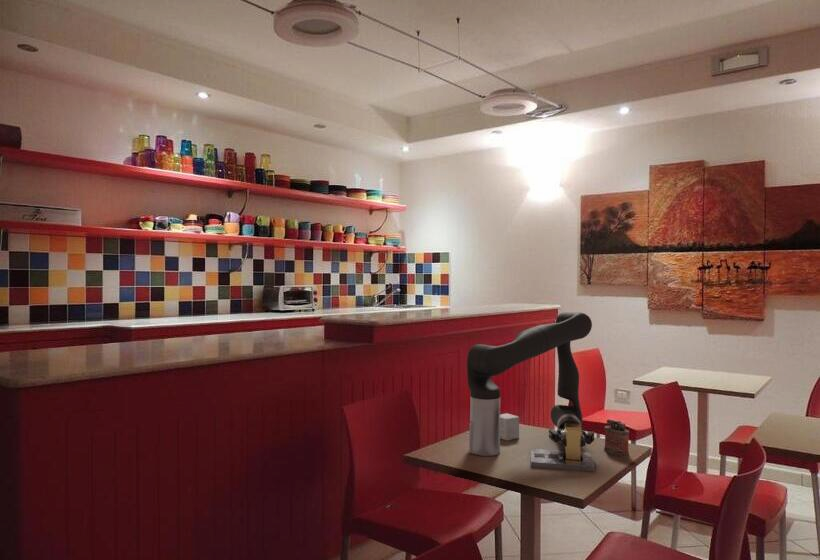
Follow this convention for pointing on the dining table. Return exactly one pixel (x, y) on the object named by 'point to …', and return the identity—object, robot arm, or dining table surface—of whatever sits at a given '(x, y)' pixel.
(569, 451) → the yellow rectangular block
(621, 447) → the lighter
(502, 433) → the product box
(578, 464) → the grey slotted tray
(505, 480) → the dining table surface
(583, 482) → the dining table surface
